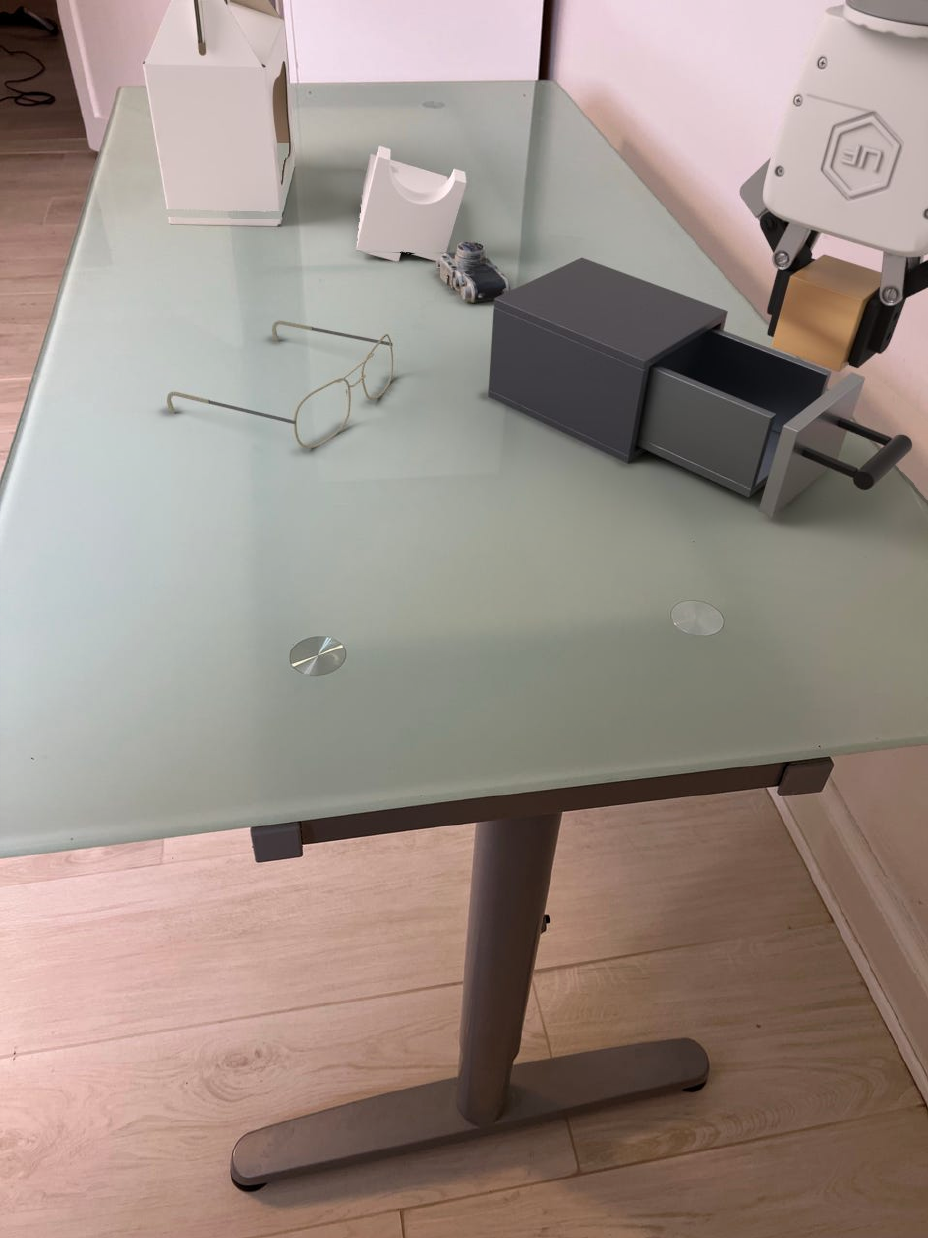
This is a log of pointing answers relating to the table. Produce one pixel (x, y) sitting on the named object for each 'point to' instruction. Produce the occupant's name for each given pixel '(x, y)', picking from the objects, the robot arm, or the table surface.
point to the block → (825, 310)
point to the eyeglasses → (275, 338)
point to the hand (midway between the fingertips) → (822, 341)
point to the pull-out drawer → (755, 419)
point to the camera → (472, 273)
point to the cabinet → (589, 349)
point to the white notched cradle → (407, 208)
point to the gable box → (220, 108)
